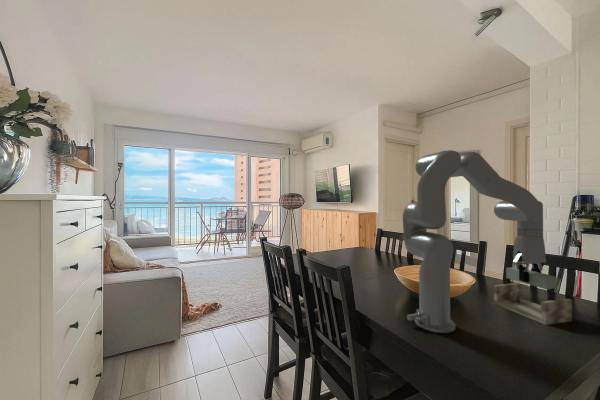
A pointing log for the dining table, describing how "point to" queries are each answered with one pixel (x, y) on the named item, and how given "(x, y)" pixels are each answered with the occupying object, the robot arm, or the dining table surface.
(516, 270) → the grey-green rectangular block
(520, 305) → the shelf frame
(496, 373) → the dining table surface
